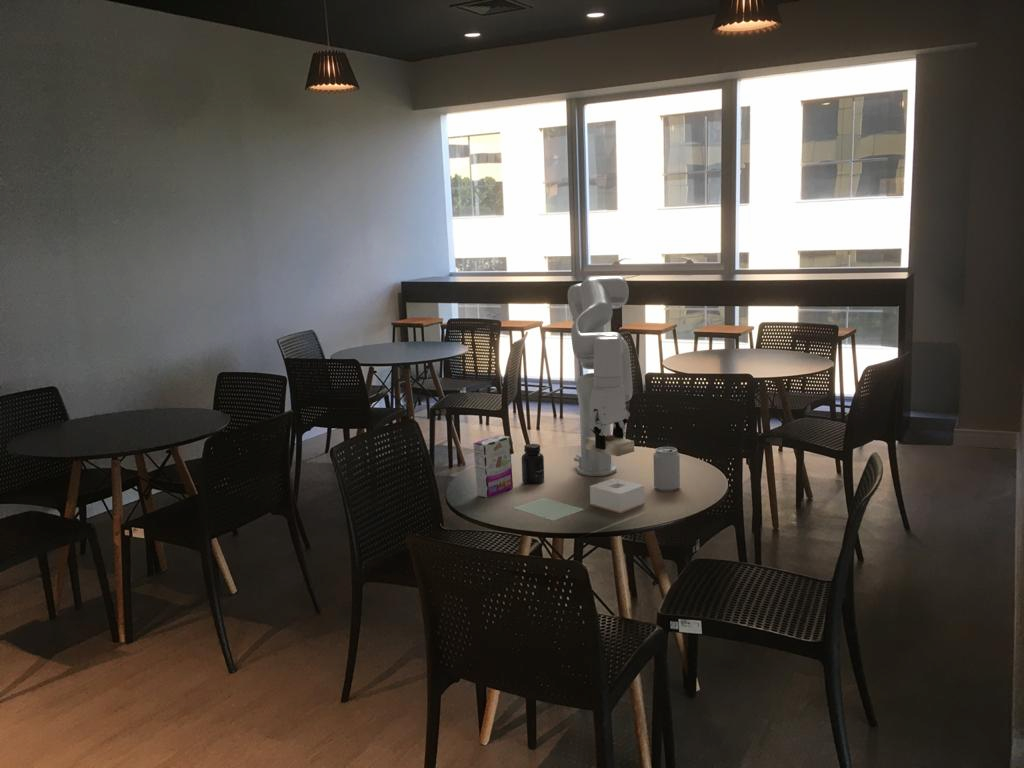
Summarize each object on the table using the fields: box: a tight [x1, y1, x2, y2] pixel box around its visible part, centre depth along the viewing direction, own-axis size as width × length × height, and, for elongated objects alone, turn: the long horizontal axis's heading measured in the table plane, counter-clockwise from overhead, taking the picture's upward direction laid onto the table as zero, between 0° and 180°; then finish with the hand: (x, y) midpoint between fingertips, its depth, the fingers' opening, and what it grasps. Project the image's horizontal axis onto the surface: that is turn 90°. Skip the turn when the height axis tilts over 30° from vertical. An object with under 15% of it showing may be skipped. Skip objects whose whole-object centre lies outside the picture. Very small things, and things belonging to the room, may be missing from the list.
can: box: [653, 446, 681, 492], centre depth 246 cm, size 8×8×12 cm
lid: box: [585, 434, 635, 457], centre depth 230 cm, size 12×6×4 cm, turn 40°
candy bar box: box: [473, 434, 514, 499], centre depth 249 cm, size 11×5×16 cm, turn 137°
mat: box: [513, 497, 585, 522], centre depth 232 cm, size 16×12×1 cm
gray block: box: [589, 477, 645, 514], centre depth 232 cm, size 11×10×6 cm
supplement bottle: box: [521, 443, 545, 486], centre depth 257 cm, size 7×7×12 cm
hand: (609, 445), depth 230 cm, fingers closed on lid, 6 cm apart
